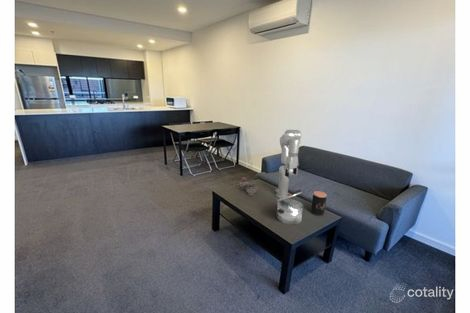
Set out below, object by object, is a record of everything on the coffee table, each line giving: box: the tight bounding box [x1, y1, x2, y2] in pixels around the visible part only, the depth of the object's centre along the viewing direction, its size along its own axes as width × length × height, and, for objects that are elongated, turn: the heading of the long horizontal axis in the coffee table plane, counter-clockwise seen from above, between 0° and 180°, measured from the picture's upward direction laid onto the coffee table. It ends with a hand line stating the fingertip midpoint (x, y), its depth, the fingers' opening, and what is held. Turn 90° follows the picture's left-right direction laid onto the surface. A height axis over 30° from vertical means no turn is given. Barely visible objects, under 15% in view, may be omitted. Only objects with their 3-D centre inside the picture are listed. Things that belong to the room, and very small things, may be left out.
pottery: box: [238, 176, 258, 196], centre depth 228 cm, size 11×25×12 cm, turn 31°
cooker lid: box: [276, 189, 303, 202], centre depth 179 cm, size 21×21×3 cm
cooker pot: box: [276, 198, 304, 226], centre depth 181 cm, size 21×26×12 cm
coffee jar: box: [310, 190, 328, 216], centre depth 189 cm, size 11×11×18 cm
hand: (290, 175), depth 176 cm, fingers open, 9 cm apart
